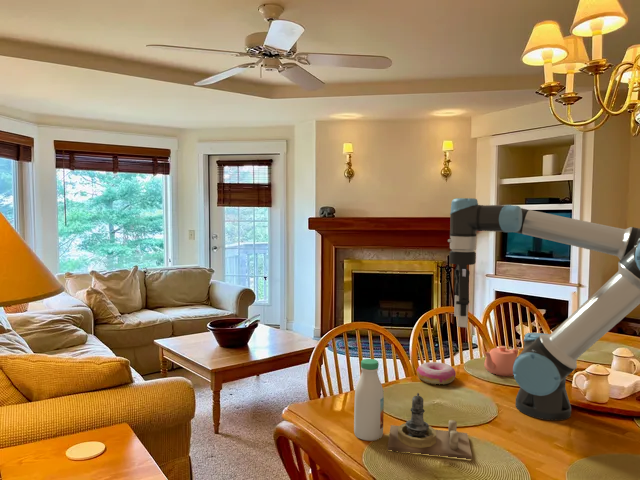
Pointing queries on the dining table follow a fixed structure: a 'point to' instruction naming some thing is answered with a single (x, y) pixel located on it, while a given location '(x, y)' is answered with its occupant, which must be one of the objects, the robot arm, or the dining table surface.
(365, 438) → the milk bottle
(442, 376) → the donut
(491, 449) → the dining table surface
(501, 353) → the teapot
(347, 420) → the dining table surface
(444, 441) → the board
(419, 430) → the dark grey tapered tower
